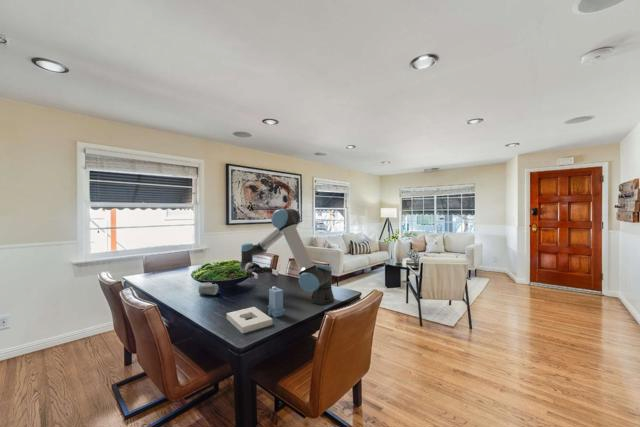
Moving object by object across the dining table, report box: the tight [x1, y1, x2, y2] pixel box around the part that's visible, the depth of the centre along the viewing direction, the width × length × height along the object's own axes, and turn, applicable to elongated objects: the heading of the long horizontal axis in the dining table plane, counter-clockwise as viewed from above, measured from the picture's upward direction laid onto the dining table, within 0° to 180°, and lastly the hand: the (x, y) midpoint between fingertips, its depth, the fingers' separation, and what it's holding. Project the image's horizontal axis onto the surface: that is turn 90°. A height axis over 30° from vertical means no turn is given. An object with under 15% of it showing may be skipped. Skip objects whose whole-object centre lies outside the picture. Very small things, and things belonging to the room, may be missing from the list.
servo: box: [266, 286, 286, 318], centre depth 151 cm, size 11×6×15 cm, turn 38°
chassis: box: [226, 306, 274, 334], centre depth 142 cm, size 22×16×3 cm
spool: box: [198, 282, 219, 296], centre depth 187 cm, size 14×10×10 cm
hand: (267, 274), depth 162 cm, fingers open, 13 cm apart
